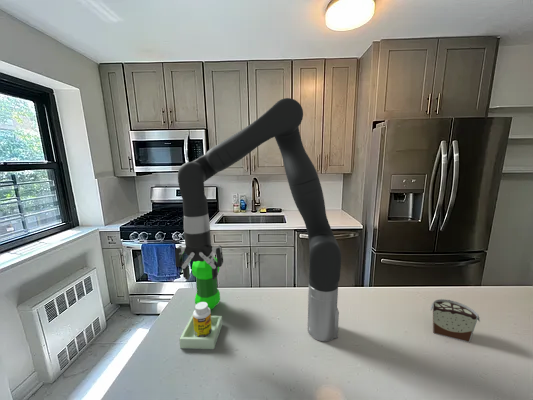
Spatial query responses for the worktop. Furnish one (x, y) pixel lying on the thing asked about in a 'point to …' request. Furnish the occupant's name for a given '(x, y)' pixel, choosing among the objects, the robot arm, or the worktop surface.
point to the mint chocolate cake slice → (453, 319)
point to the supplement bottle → (202, 320)
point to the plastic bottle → (205, 284)
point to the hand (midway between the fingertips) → (200, 278)
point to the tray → (201, 342)
